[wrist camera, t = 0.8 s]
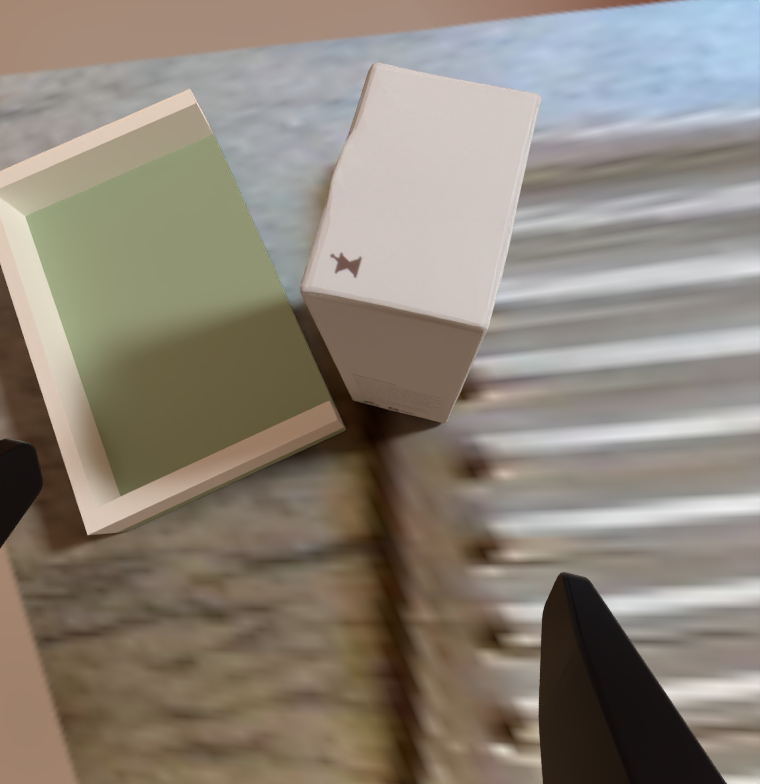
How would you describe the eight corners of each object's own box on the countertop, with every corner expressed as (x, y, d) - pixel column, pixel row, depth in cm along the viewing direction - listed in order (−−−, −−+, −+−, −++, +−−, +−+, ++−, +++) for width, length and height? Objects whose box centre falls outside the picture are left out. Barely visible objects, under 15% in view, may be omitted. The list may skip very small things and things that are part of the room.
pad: (346, 430, 23) (337, 419, 20) (126, 531, 22) (87, 535, 20) (213, 132, 26) (190, 88, 23) (20, 216, 26) (-26, 182, 23)
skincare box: (449, 426, 23) (488, 340, 11) (351, 402, 23) (288, 294, 11) (481, 293, 24) (548, 87, 12) (387, 272, 24) (364, 53, 13)
